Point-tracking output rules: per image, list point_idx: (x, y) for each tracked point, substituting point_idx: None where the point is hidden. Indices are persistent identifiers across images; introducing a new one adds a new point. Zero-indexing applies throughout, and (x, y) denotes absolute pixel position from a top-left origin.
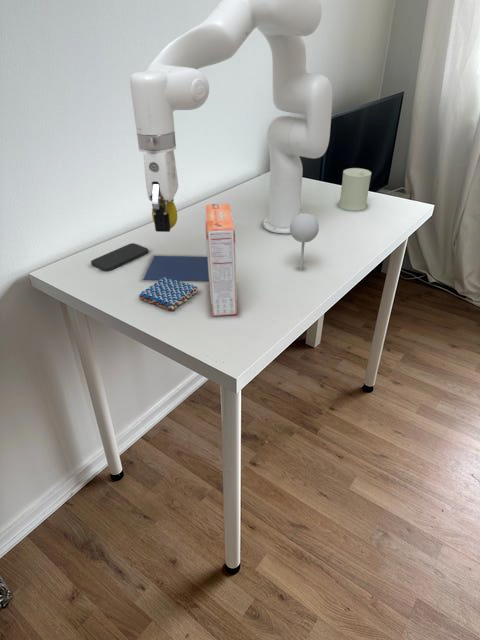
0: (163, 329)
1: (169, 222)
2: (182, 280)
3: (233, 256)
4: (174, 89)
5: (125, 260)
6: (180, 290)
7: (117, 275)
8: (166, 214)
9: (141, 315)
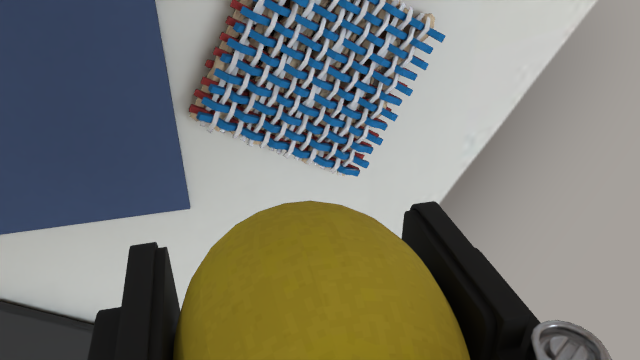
0: (532, 25)
1: (458, 248)
2: (160, 37)
3: None
4: None
5: (64, 326)
6: (329, 15)
7: None
8: (552, 328)
9: (440, 127)
